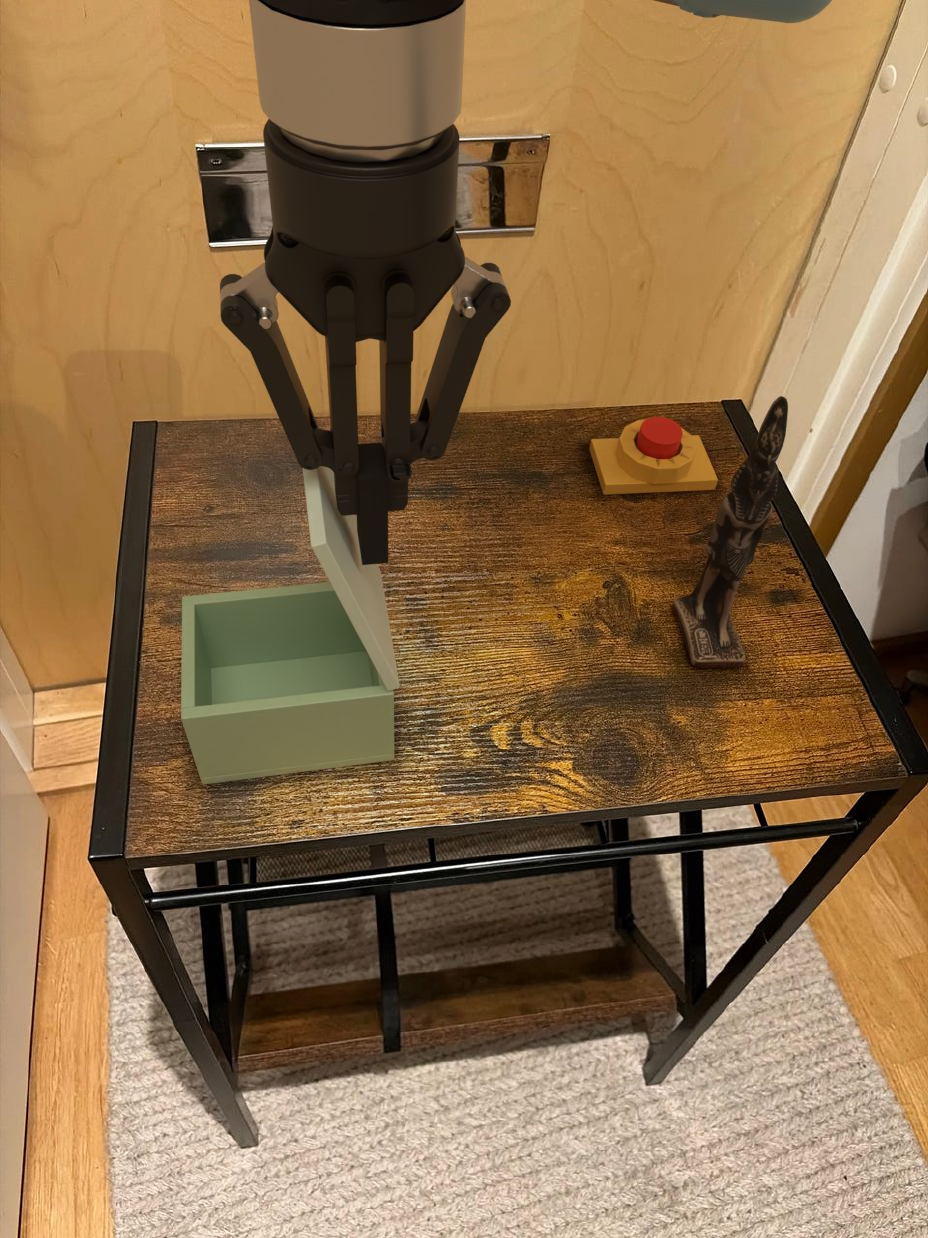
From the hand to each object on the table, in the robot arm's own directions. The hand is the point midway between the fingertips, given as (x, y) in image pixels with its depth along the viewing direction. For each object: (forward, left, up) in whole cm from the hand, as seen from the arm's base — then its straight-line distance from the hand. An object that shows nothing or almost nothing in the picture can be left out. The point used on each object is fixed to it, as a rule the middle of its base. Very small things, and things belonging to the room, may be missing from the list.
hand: (372, 546), depth 54 cm
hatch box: (+5, +3, -16) cm, 17 cm away
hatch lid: (+1, +1, -1) cm, 2 cm away
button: (-14, -31, -13) cm, 37 cm away
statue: (-21, -14, -16) cm, 30 cm away
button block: (-14, -31, -16) cm, 38 cm away
